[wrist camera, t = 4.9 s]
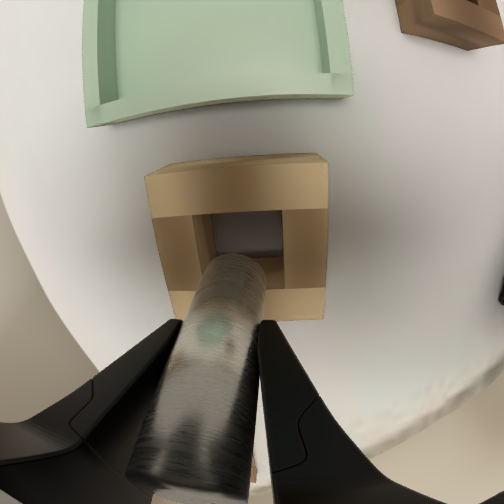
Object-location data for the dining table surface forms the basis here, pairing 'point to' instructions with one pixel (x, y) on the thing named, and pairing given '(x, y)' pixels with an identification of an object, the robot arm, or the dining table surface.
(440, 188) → the dining table surface
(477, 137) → the dining table surface
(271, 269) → the oak block
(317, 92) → the tray
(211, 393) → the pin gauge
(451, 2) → the walnut block
